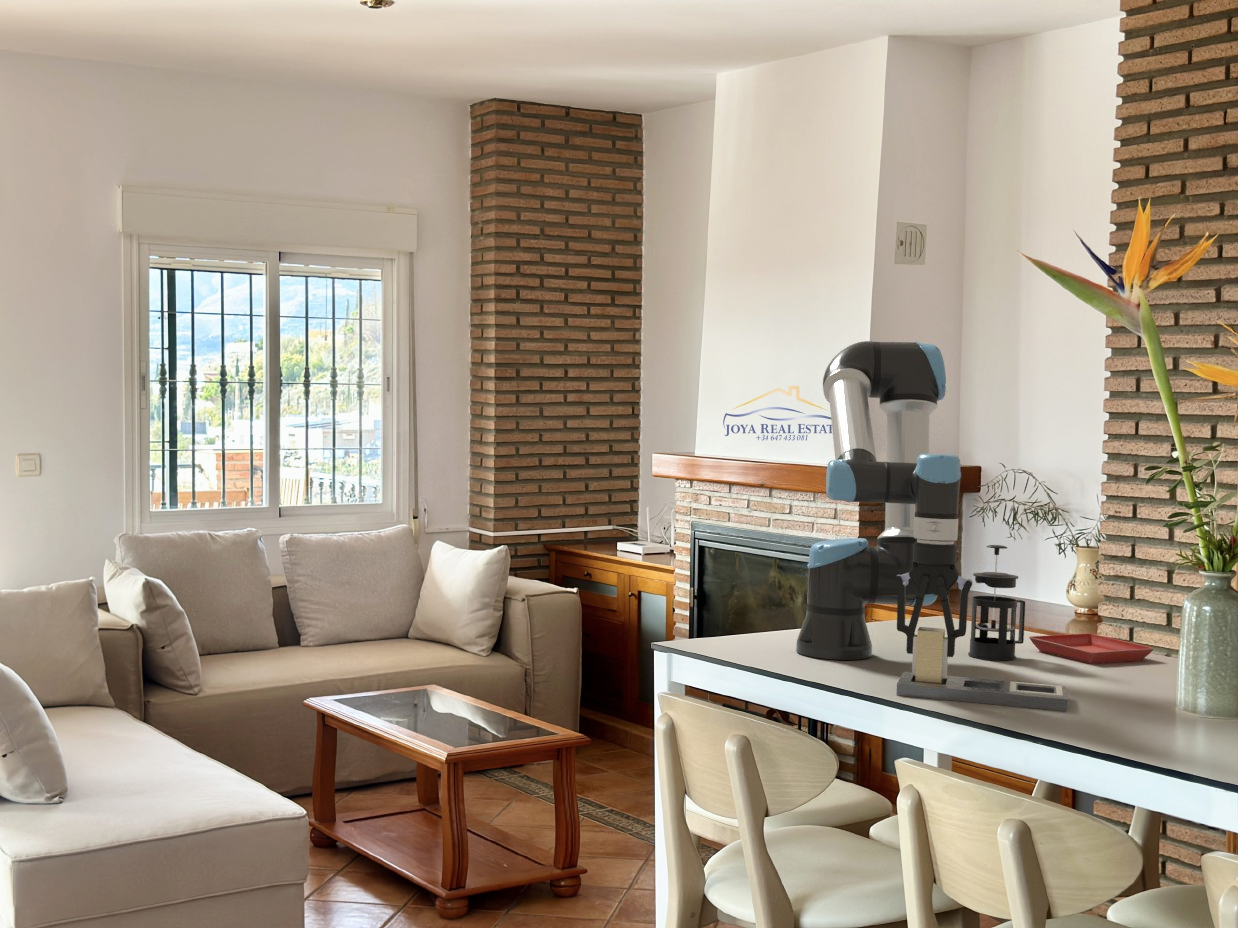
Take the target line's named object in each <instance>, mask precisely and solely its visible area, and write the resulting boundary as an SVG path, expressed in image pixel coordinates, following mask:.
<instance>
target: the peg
mask: <svg viewBox="0 0 1238 928" xmlns="http://www.w3.org/2000/svg"><path fill="white" fill-rule="evenodd" d="M945 632H946V628H938V627H926V626H919V628H918V629H917V634H916V635H917V655H916V678H915V682H919V683H930V684H941V685H943V676H942V658H943V639H944V637H946V636H945V635H946V634H945Z"/></svg>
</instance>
